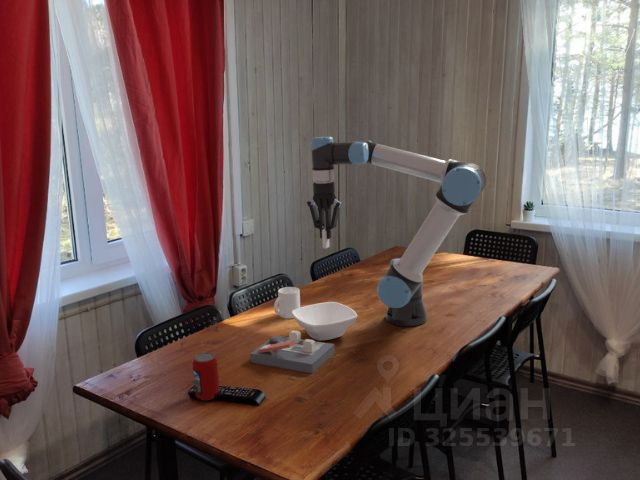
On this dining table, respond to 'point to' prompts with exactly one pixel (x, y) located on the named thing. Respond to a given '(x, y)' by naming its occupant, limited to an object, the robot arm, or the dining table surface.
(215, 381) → the beverage can
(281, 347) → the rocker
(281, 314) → the mug
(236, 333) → the dining table surface
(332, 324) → the bowl
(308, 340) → the slider
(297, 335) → the slider
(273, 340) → the panel
